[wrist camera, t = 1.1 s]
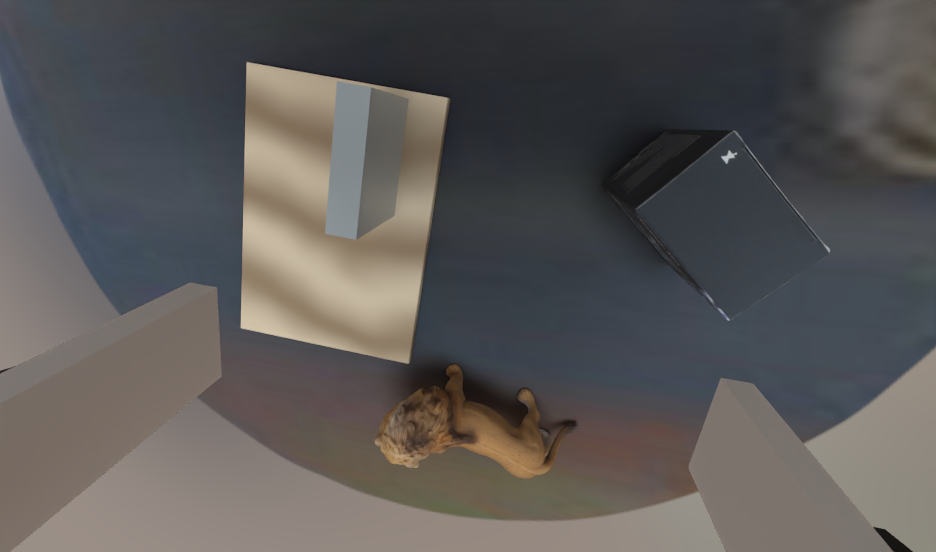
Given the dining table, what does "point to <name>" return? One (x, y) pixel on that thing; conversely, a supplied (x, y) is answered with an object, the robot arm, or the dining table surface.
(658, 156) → the box
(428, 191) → the board
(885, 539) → the robot arm
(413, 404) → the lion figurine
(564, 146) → the dining table surface
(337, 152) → the block
